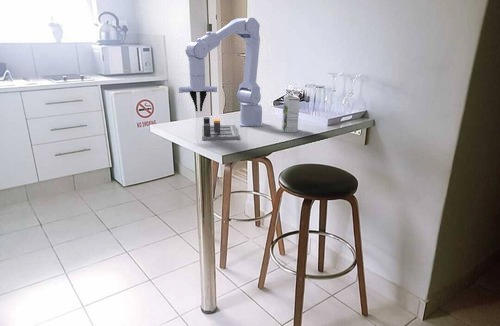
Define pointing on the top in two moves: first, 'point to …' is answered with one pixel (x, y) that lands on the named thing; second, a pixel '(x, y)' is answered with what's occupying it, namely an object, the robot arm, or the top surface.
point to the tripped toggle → (216, 124)
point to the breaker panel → (224, 134)
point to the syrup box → (290, 113)
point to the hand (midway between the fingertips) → (198, 110)
